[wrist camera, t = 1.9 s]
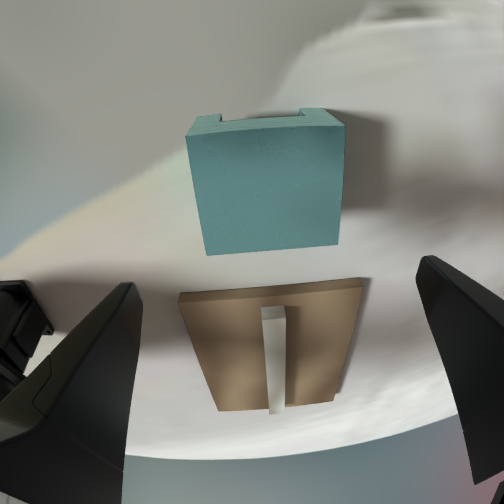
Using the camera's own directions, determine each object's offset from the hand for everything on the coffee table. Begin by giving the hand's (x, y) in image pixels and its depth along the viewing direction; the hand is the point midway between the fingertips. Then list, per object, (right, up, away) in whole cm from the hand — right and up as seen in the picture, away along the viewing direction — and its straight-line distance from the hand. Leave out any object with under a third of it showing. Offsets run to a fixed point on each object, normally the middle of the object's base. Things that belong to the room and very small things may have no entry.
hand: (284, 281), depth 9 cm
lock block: (0, +6, +8) cm, 10 cm away
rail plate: (+1, -9, +18) cm, 20 cm away
